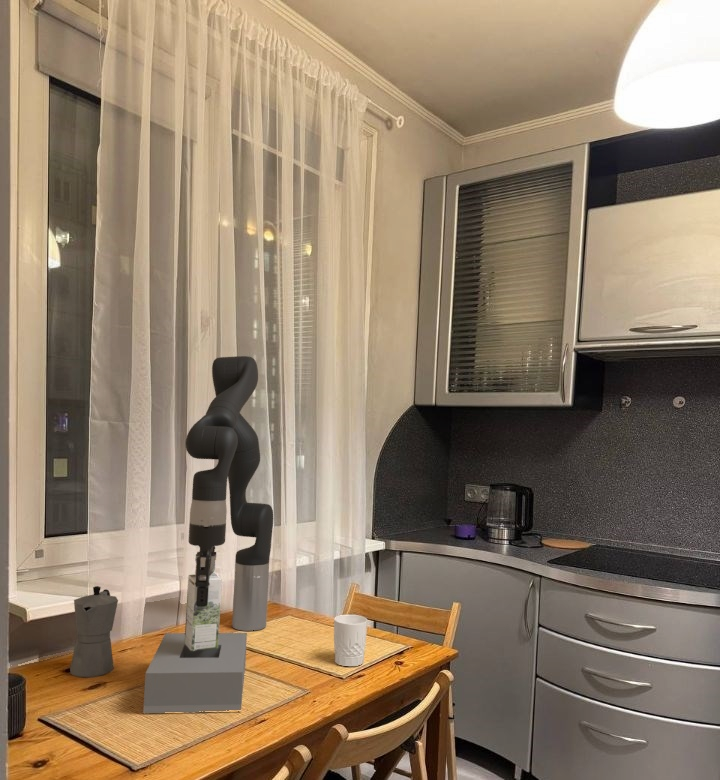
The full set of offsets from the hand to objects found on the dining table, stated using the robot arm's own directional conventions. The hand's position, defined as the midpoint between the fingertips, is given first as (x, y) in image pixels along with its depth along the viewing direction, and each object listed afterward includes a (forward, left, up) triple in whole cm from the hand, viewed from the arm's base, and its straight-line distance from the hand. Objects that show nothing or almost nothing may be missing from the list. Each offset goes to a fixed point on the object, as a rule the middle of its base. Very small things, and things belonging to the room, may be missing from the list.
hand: (203, 601), depth 136 cm
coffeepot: (-12, -24, -18) cm, 32 cm away
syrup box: (0, 0, -9) cm, 9 cm away
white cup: (-14, +33, -18) cm, 40 cm away
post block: (0, 0, -18) cm, 18 cm away
